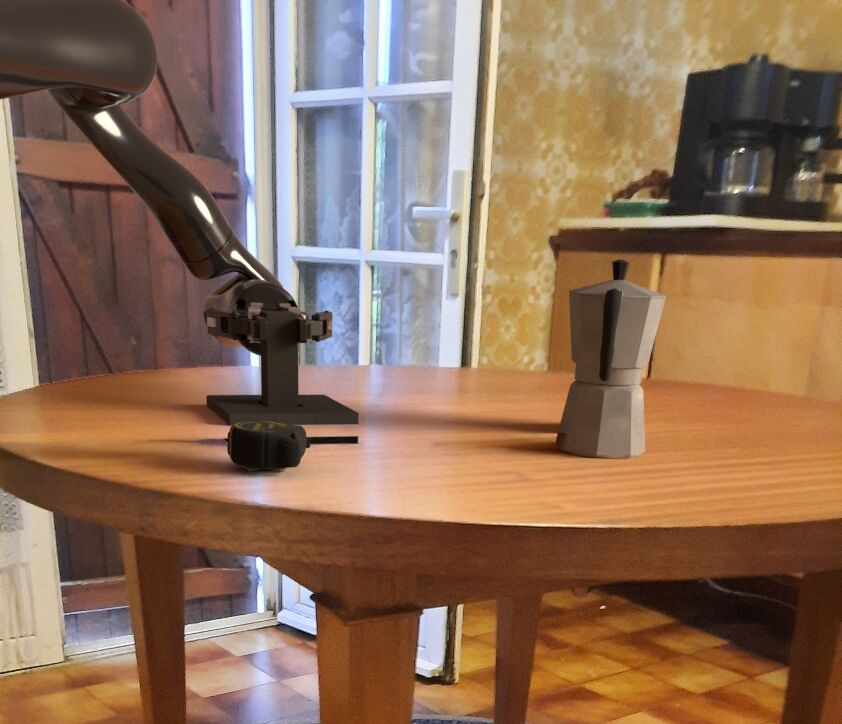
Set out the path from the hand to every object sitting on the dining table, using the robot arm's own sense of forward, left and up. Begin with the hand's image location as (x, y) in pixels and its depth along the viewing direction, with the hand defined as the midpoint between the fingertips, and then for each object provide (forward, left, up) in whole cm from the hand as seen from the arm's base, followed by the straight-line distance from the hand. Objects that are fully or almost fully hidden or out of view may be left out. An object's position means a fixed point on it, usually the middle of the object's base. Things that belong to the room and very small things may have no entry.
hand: (283, 331), depth 105 cm
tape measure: (-4, -15, -10) cm, 19 cm away
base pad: (0, +3, -10) cm, 11 cm away
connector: (0, +3, -9) cm, 10 cm away
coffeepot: (+30, -11, -10) cm, 34 cm away
